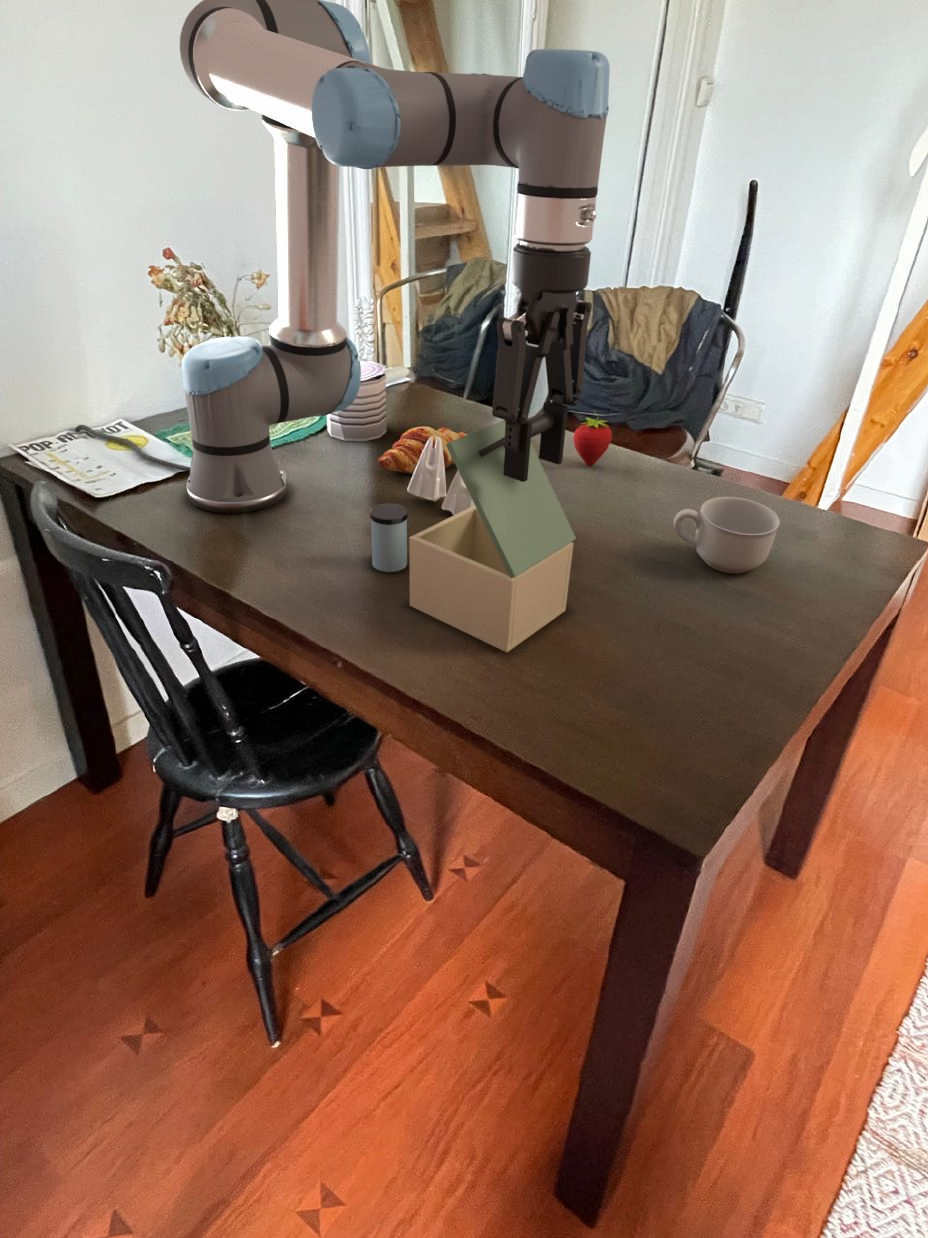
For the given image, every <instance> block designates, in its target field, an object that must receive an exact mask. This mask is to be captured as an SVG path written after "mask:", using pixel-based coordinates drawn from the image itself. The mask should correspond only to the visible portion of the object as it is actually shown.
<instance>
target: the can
mask: <svg viewBox="0 0 928 1238" xmlns="http://www.w3.org/2000/svg"><path fill="white" fill-rule="evenodd" d="M360 365H361V381H360V387H359V391H358V394H357V396H356V398H355V400H354V401H353V403H352V404H351V405H349V406H348V407H347V408H346V409H344V410H341V411H337V412H333V413H331V414H329V415H326V429H327V432H328V433H329V436H330V438H331V437H332V438H334V439H338V440H340V441H344V442H367V441H371V440H377V439H380V438H382V437H383V435H385V434H386V433H387V390H386V389H387V383H386V382H387V379H386V377H387V375H386V373H385V370H386V368H387V365H385V364H382V363H379V362H376V361H373V360H366V361H365V360H364V361H360Z"/></svg>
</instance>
